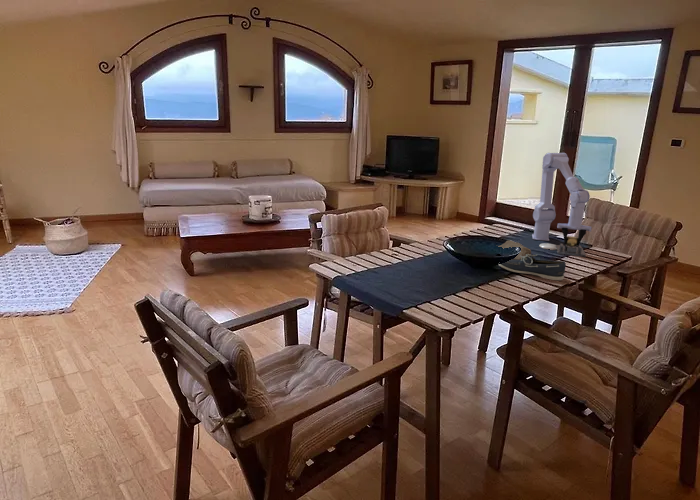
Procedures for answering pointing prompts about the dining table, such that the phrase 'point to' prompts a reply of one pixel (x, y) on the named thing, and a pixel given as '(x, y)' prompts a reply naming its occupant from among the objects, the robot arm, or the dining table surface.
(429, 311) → the dining table surface
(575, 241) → the cap
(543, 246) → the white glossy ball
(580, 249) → the post base
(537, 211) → the robot arm
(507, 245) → the artifact
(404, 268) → the dining table surface
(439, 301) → the dining table surface
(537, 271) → the boat shoe
